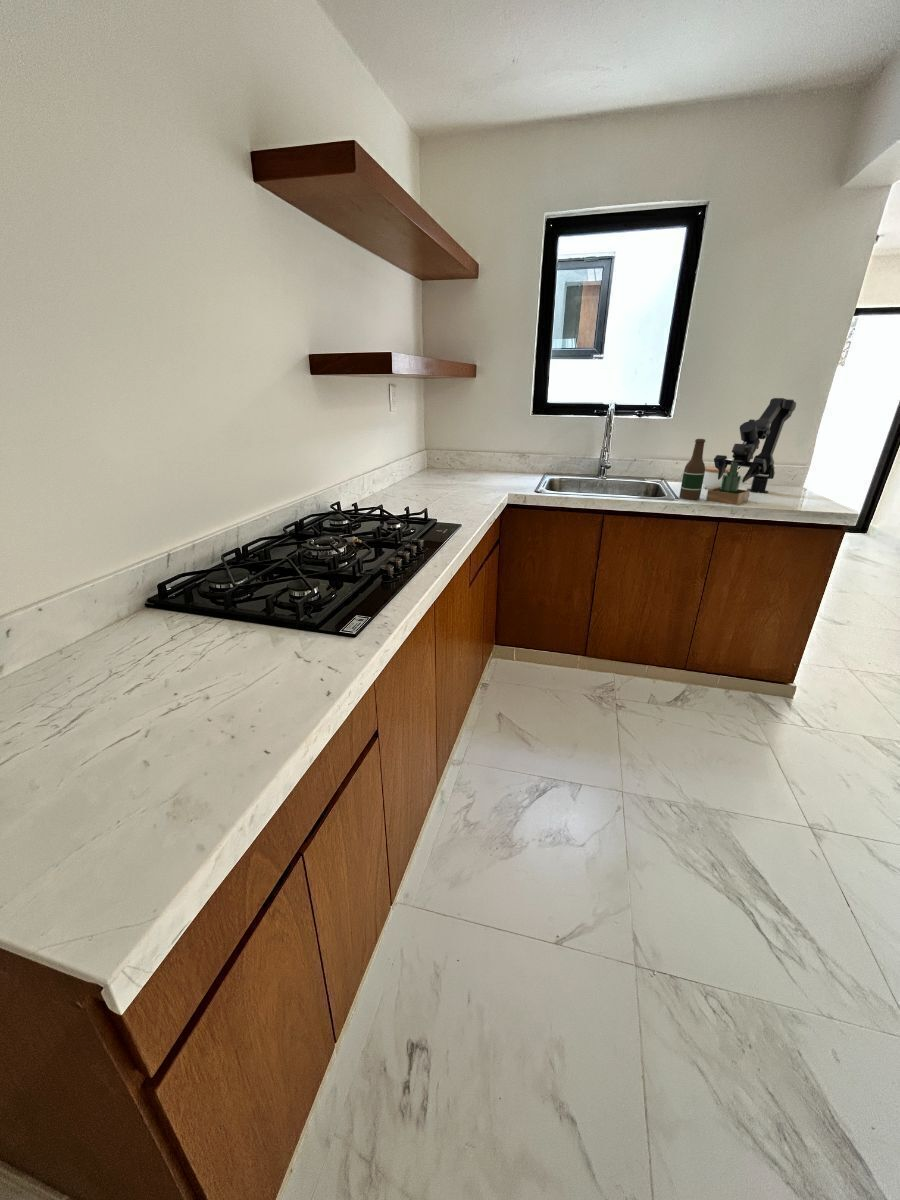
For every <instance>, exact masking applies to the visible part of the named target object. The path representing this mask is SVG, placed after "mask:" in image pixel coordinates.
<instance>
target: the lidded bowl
mask: <svg viewBox="0 0 900 1200" xmlns="http://www.w3.org/2000/svg"><path fill="white" fill-rule="evenodd" d="M727 471H730V467H728V466H727V467H726V468H725V472H724V474H727ZM718 473H719V470H718V469H717V468H715V465H707V466H706V465H705V474H704V479H703V484H702V485H703V486H704V488H705V489H708V490H711V489H714V488H718V487H721V483H722V479H723V475H724V474H723V475H722V477H721V478H720V479H719V480H718Z"/></svg>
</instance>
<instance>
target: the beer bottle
mask: <svg viewBox="0 0 900 1200" xmlns="http://www.w3.org/2000/svg"><path fill="white" fill-rule="evenodd" d="M694 443H695V444H694V447H693V451H692V455H691V458H690V460H689V461H688V462H687V463H686V465H685V467H684V469H683V470H684V471H683V474H682V480H681V486H680V490H679V499H681V500H686V501H698V500H700V497H701V493H702V487H703V485H704V484H703V479H704V474H705V466H706V465H705V462H704V461H703V455H704V449H705V443H706V439H705V438H696V439H695V440H694Z"/></svg>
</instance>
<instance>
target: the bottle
mask: <svg viewBox="0 0 900 1200" xmlns="http://www.w3.org/2000/svg"><path fill="white" fill-rule="evenodd" d="M738 464H739V463H738V462H731V465H730V467H729V468H730V471H727V474H724V475H723V479H722V483H721V488H720V492H727V493H734V494H737V493H738V489H740V484H741V481H742V480H741V479H742V475H740V474H739V472H740V471H738V468H739V466H738Z"/></svg>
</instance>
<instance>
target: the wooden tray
mask: <svg viewBox="0 0 900 1200" xmlns="http://www.w3.org/2000/svg"><path fill="white" fill-rule="evenodd" d="M720 488H721V487H718V488H714V489H708V490H707V493H706V494H707V495H706V499H705V501H710V502H716V503H722V504H728V505H729V504H730V505H735V506H737V505H740V504H742V503H746V502H748V500H749V497H750V493H751V491H750V490H746V489H740V488H739V489H738V493H737V494H734V493H727V492H720Z"/></svg>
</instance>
